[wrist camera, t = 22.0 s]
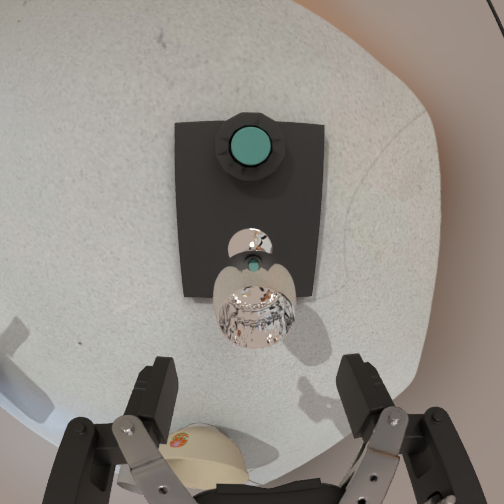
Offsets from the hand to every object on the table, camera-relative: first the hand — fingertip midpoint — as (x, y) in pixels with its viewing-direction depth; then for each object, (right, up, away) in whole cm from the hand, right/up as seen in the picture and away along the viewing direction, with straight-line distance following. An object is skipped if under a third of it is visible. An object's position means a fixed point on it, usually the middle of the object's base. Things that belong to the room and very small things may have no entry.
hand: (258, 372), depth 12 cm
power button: (0, +15, +11) cm, 18 cm away
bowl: (-9, -27, +29) cm, 41 cm away
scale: (-1, +10, +15) cm, 18 cm away
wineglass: (0, +6, +16) cm, 17 cm away
